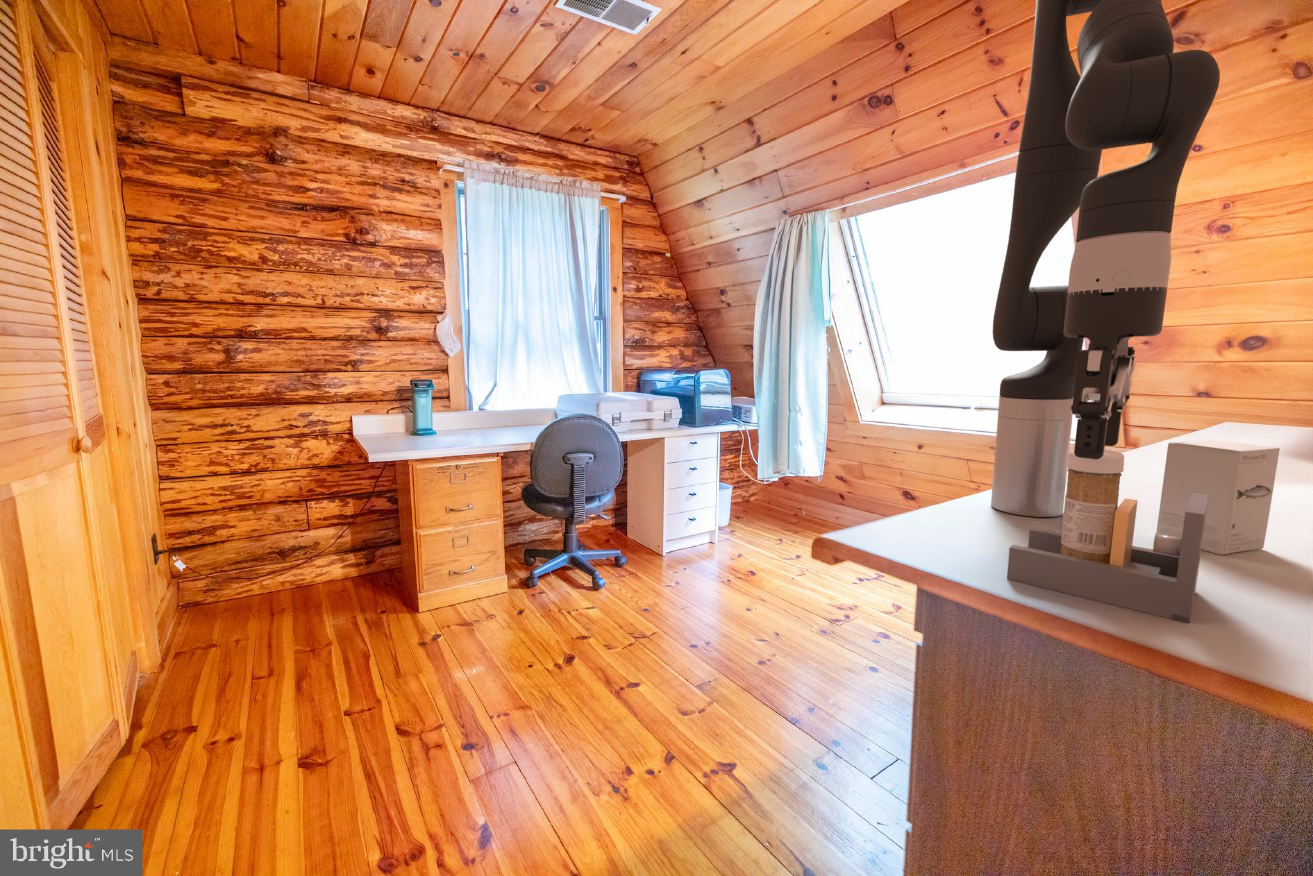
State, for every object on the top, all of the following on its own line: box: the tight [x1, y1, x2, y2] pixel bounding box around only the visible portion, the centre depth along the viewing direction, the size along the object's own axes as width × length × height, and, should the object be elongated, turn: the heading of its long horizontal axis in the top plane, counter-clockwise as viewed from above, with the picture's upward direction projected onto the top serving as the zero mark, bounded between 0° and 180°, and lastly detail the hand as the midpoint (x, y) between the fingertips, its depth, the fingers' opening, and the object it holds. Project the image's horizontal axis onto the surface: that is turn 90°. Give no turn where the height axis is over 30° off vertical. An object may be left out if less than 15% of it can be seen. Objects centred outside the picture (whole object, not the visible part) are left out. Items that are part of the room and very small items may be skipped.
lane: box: [1006, 493, 1209, 624], centre depth 57 cm, size 9×14×10 cm, turn 44°
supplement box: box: [1155, 439, 1281, 556], centre depth 68 cm, size 7×7×13 cm
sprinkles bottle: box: [1061, 448, 1125, 564], centre depth 57 cm, size 5×5×13 cm
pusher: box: [1110, 498, 1161, 575], centre depth 55 cm, size 6×3×8 cm, turn 134°
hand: (1096, 451), depth 57 cm, fingers open, 8 cm apart
